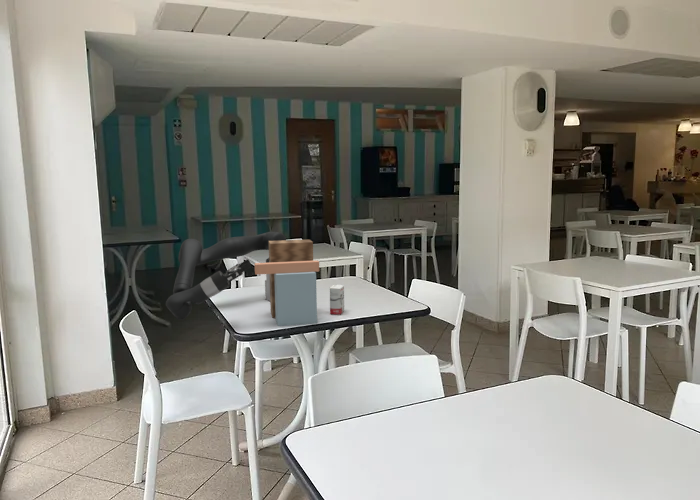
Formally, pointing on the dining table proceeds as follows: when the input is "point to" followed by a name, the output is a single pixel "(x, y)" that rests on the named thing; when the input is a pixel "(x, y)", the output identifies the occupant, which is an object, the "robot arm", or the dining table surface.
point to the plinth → (287, 259)
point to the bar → (286, 267)
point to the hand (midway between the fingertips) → (249, 262)
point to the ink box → (336, 299)
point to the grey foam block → (295, 298)
